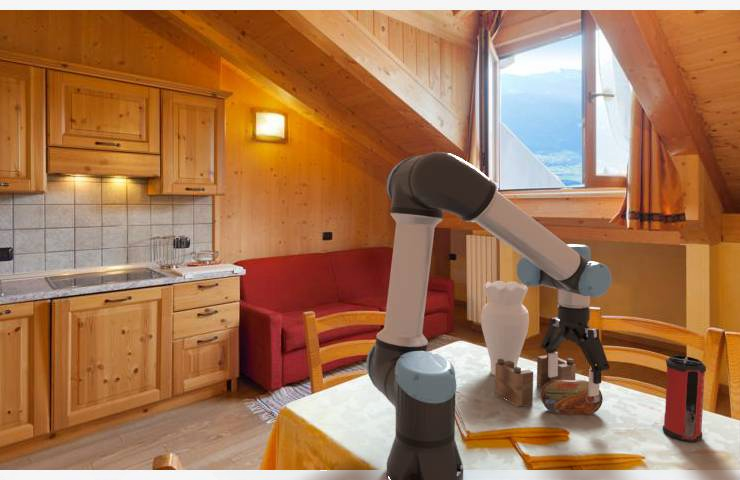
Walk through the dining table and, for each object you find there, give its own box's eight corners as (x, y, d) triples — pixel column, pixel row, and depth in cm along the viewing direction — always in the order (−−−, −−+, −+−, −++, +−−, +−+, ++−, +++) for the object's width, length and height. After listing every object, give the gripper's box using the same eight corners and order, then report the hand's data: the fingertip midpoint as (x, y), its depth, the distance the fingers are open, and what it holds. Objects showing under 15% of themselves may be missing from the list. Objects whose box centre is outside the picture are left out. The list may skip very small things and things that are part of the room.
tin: (542, 413, 119) (543, 381, 118) (538, 408, 122) (539, 377, 122) (602, 416, 118) (603, 383, 117) (597, 410, 121) (598, 379, 120)
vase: (478, 379, 142) (480, 286, 140) (481, 363, 156) (482, 279, 154) (528, 384, 138) (531, 289, 136) (526, 368, 152) (529, 281, 150)
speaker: (664, 423, 113) (668, 352, 112) (703, 433, 108) (707, 358, 107) (660, 435, 107) (663, 360, 106) (700, 446, 103) (705, 367, 101)
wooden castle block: (575, 395, 130) (576, 360, 129) (517, 407, 122) (518, 370, 122) (550, 383, 139) (551, 350, 138) (494, 393, 131) (495, 358, 131)
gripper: (627, 313, 108) (625, 401, 109) (549, 294, 131) (548, 367, 133) (603, 317, 105) (601, 407, 107) (528, 297, 128) (527, 371, 130)
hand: (572, 385), depth 120 cm, fingers open, 13 cm apart
